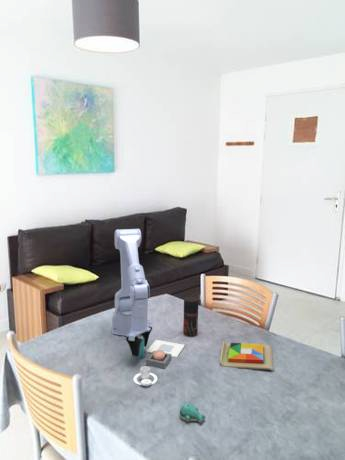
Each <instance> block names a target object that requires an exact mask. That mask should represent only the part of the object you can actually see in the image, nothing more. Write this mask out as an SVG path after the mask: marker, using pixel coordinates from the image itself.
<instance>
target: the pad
mask: <svg viewBox="0 0 345 460" xmlns="http://www.w3.org/2000/svg"><path fill="white" fill-rule="evenodd" d="M185 347H186V344H183V343H176V342H172V341H171V342H170V341H165V340H159V339H155V340H154V341H153V343H152V344H151V345H150V347H149V348H148V349H146V351H145V352H146V353H149V354H151V353H152V352H153V351H156V350H162V351H164V352H165V353H168V354H172V355H171V358H176V359H177V358H178V357H179V355H180V354H181V352H182V351H183V349H184V348H185Z"/></svg>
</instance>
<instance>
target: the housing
mask: <svg viewBox="0 0 345 460" xmlns="http://www.w3.org/2000/svg"><path fill="white" fill-rule="evenodd" d="M153 352H154V351H153ZM153 352H152V353H150V354H149V356H148V357H147V358H146V360H145V366H147V367H153V368H157V369H158V368H159V369H164V370H165V369H166V368H167V367H168V365H169V364H170V362H171V361H172V357H171V355H172V354H168V353H165V359H164V360H163V361H158V360H154V359H153Z"/></svg>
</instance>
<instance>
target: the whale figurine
mask: <svg viewBox="0 0 345 460" xmlns="http://www.w3.org/2000/svg"><path fill="white" fill-rule="evenodd" d="M179 417H180V418H181V420H183V421H186V422H199V423H200V424H201V423H203V421H204V420H205V419H206V415H204V414H200V412H199V409H198V408H197V407H195V406H194V405H193V404H192V403H189V402H187V403H184V404H182V405H181V407H180V410H179Z"/></svg>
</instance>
